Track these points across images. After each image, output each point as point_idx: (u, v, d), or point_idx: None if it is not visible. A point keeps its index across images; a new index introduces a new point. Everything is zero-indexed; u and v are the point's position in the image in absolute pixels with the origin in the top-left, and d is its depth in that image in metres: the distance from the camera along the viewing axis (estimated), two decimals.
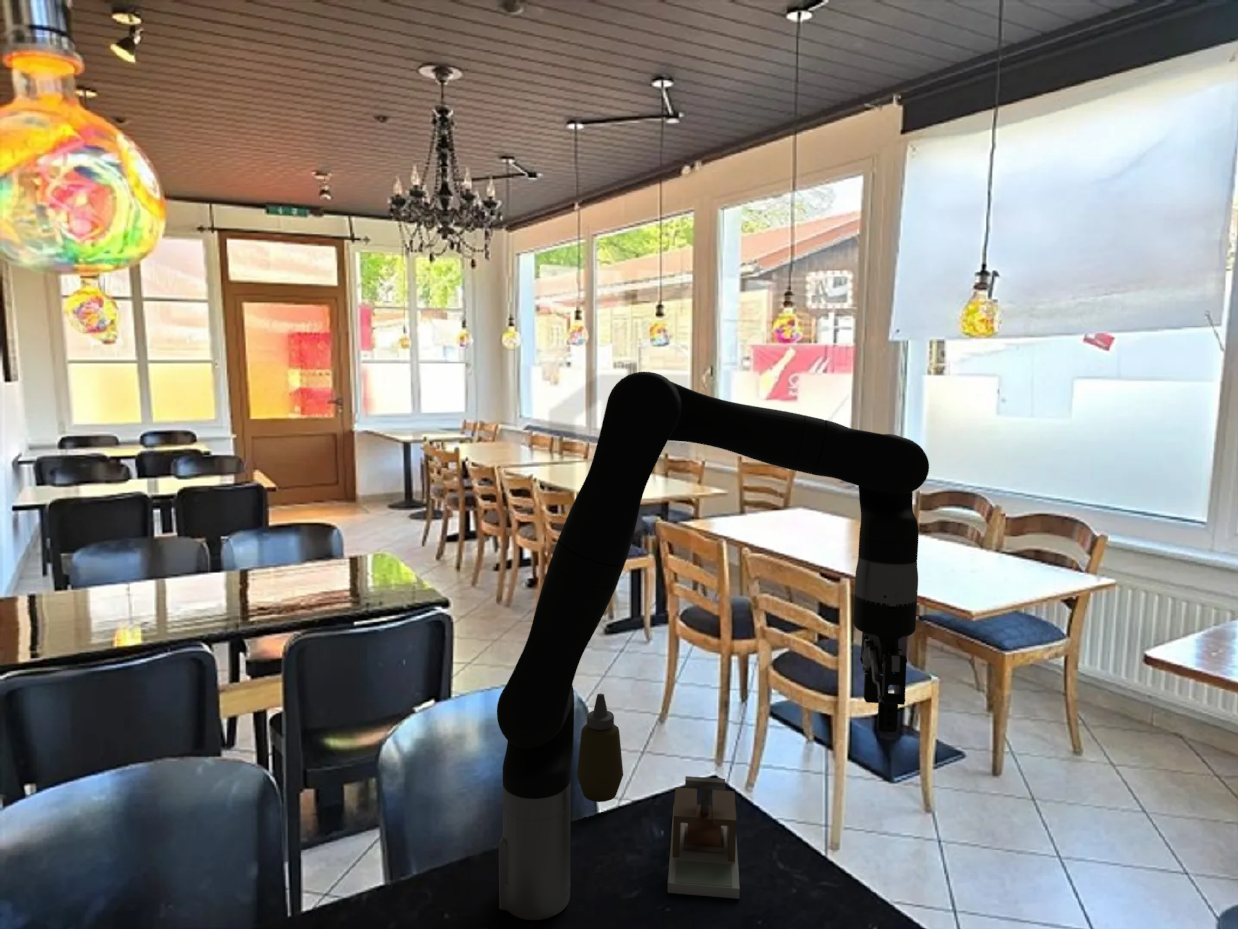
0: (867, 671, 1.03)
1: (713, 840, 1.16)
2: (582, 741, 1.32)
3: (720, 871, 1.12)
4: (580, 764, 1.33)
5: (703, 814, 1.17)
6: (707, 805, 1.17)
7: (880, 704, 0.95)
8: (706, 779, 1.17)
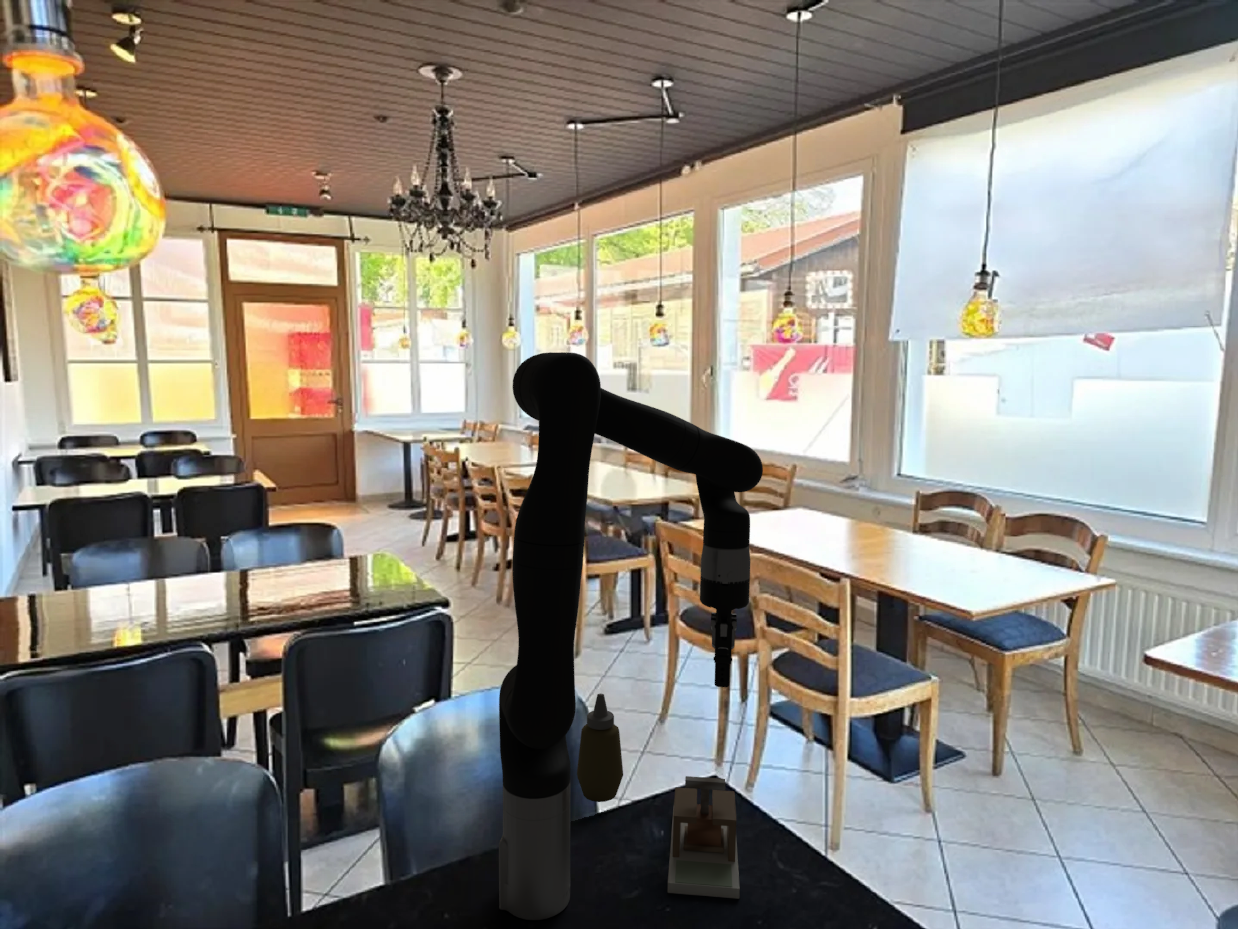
0: None
1: (713, 840, 1.16)
2: (582, 741, 1.32)
3: (720, 871, 1.12)
4: (580, 764, 1.33)
5: (703, 814, 1.17)
6: (707, 805, 1.17)
7: (715, 664, 1.16)
8: (706, 779, 1.17)
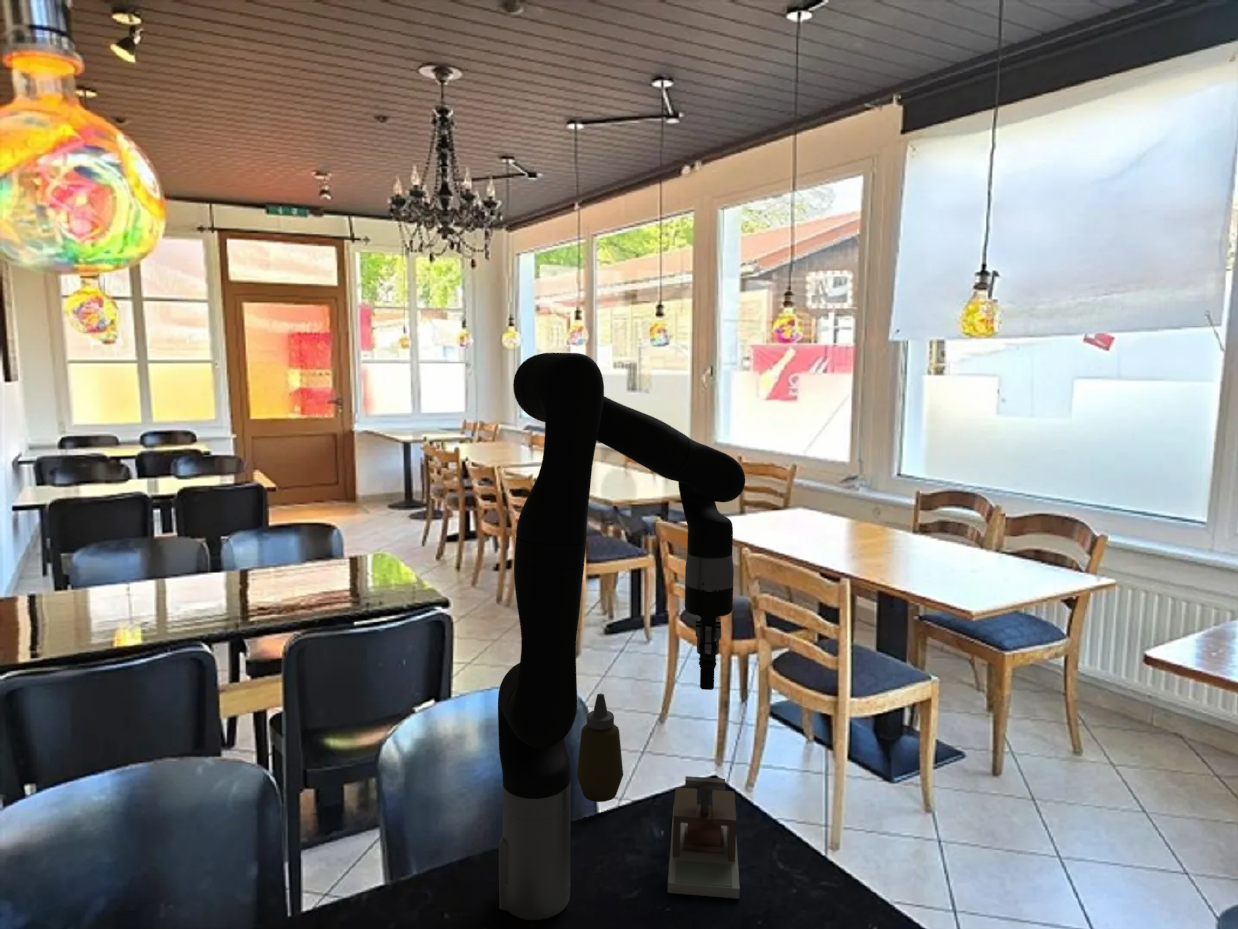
0: None
1: (713, 840, 1.16)
2: (582, 741, 1.32)
3: (720, 871, 1.12)
4: (580, 764, 1.33)
5: (703, 814, 1.17)
6: (707, 805, 1.17)
7: (701, 668, 1.22)
8: (706, 779, 1.17)
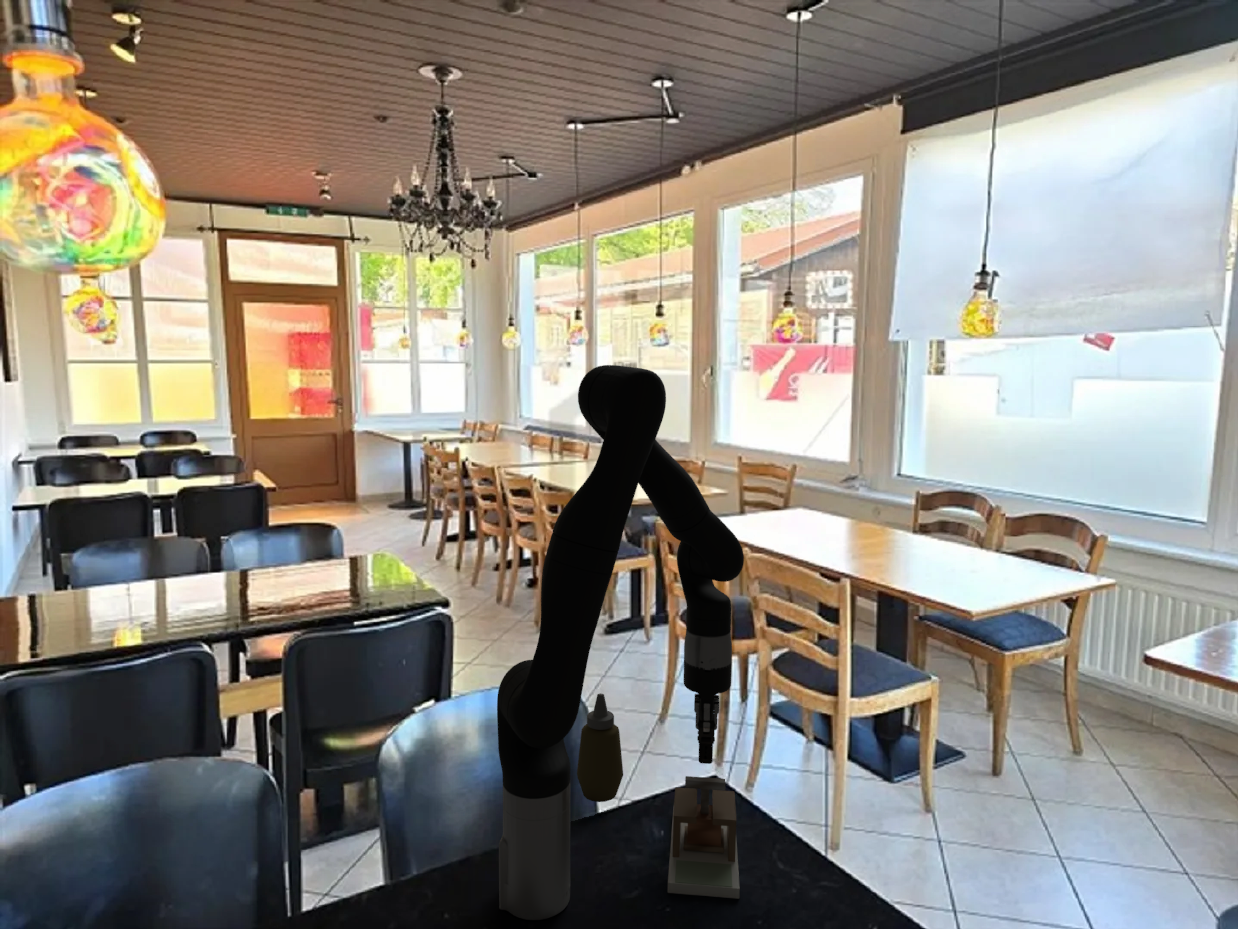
0: None
1: (713, 840, 1.16)
2: (582, 741, 1.32)
3: (720, 871, 1.12)
4: (580, 764, 1.33)
5: (703, 814, 1.17)
6: (707, 805, 1.17)
7: (699, 742, 1.24)
8: (706, 779, 1.17)
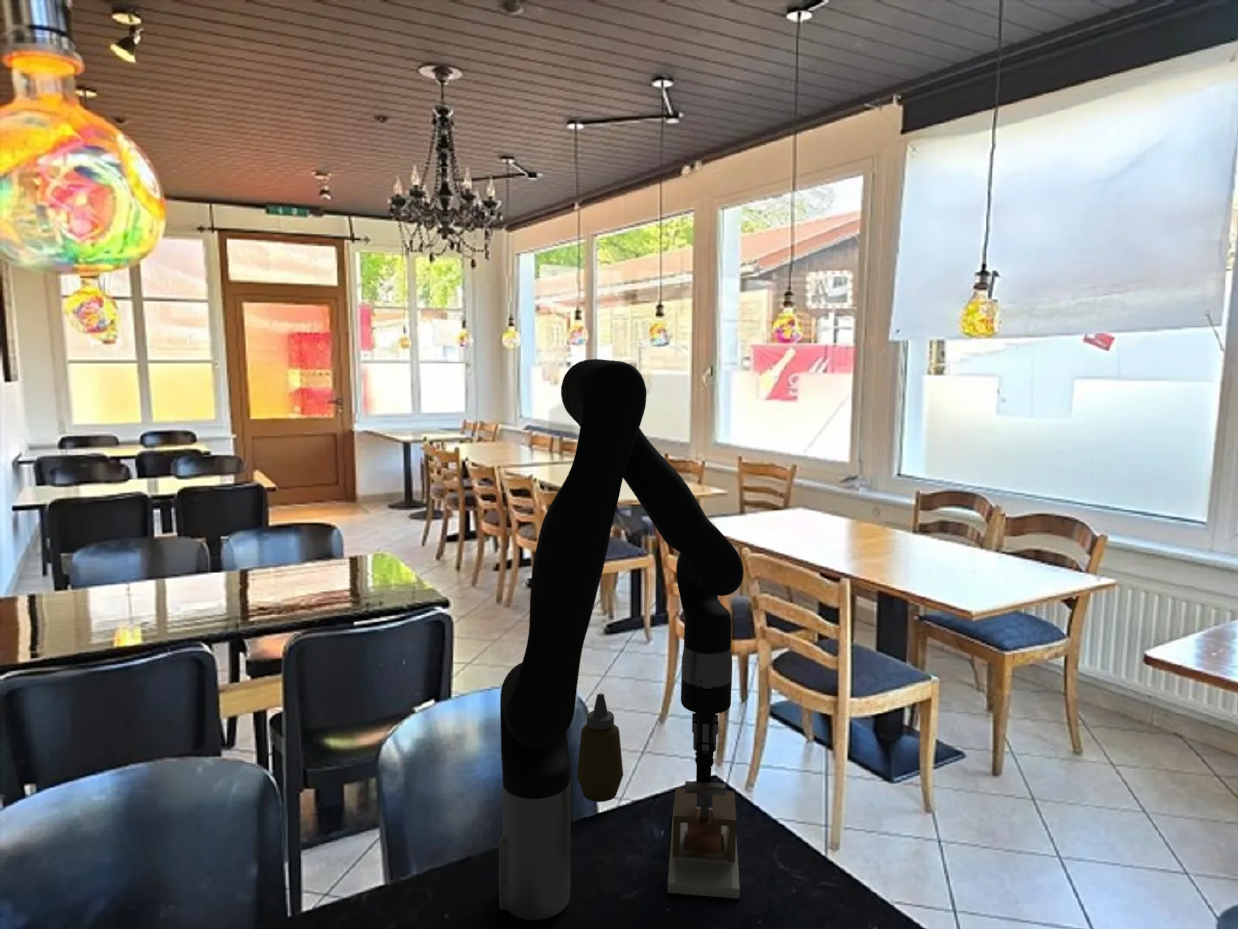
0: None
1: (713, 846, 1.15)
2: (582, 741, 1.32)
3: (720, 871, 1.12)
4: (580, 764, 1.33)
5: (702, 820, 1.16)
6: (707, 810, 1.16)
7: None
8: (706, 784, 1.16)
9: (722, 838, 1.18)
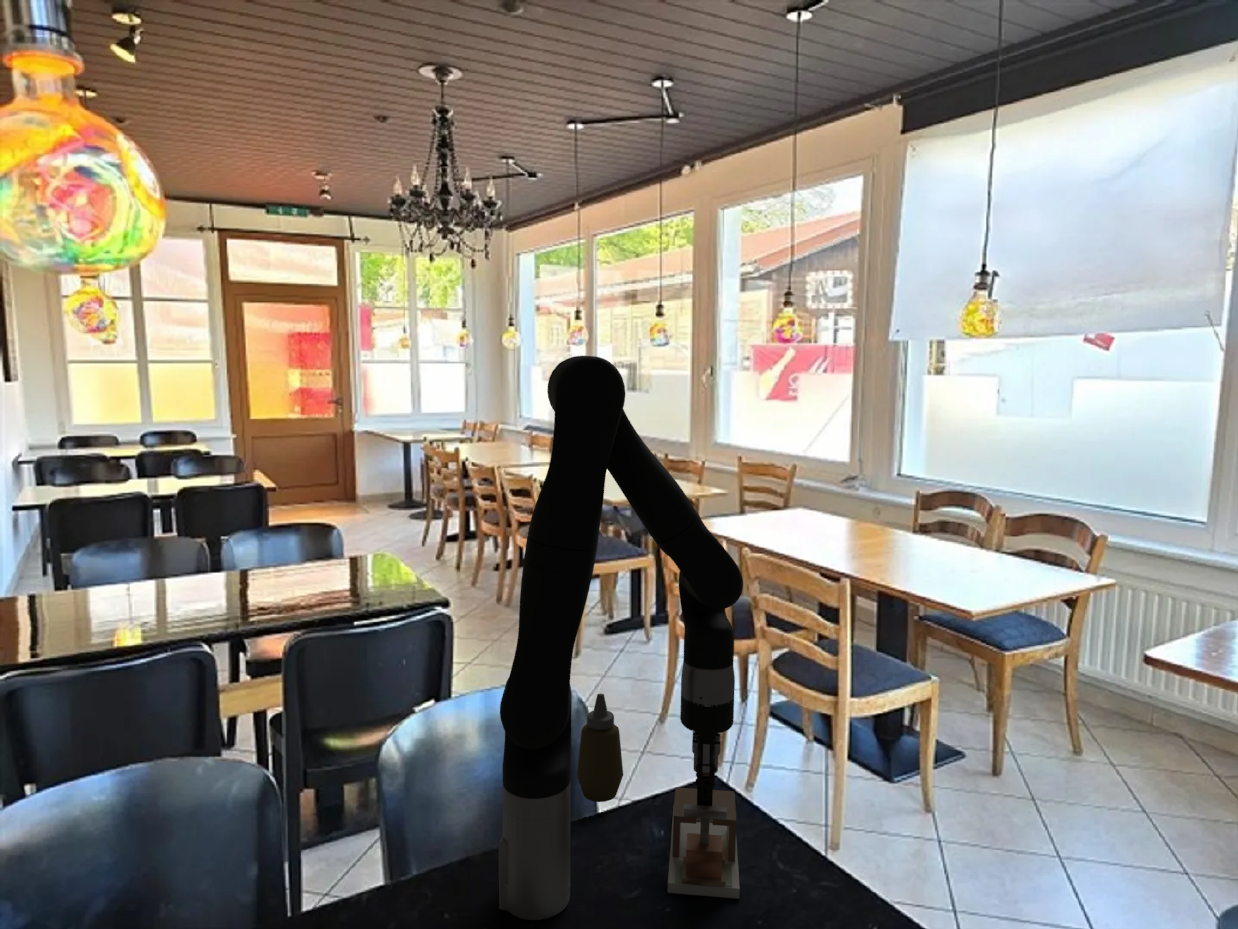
0: None
1: (713, 873, 1.08)
2: (582, 741, 1.32)
3: None
4: (580, 764, 1.33)
5: (702, 845, 1.09)
6: (707, 835, 1.09)
7: None
8: (706, 807, 1.10)
9: (723, 864, 1.12)
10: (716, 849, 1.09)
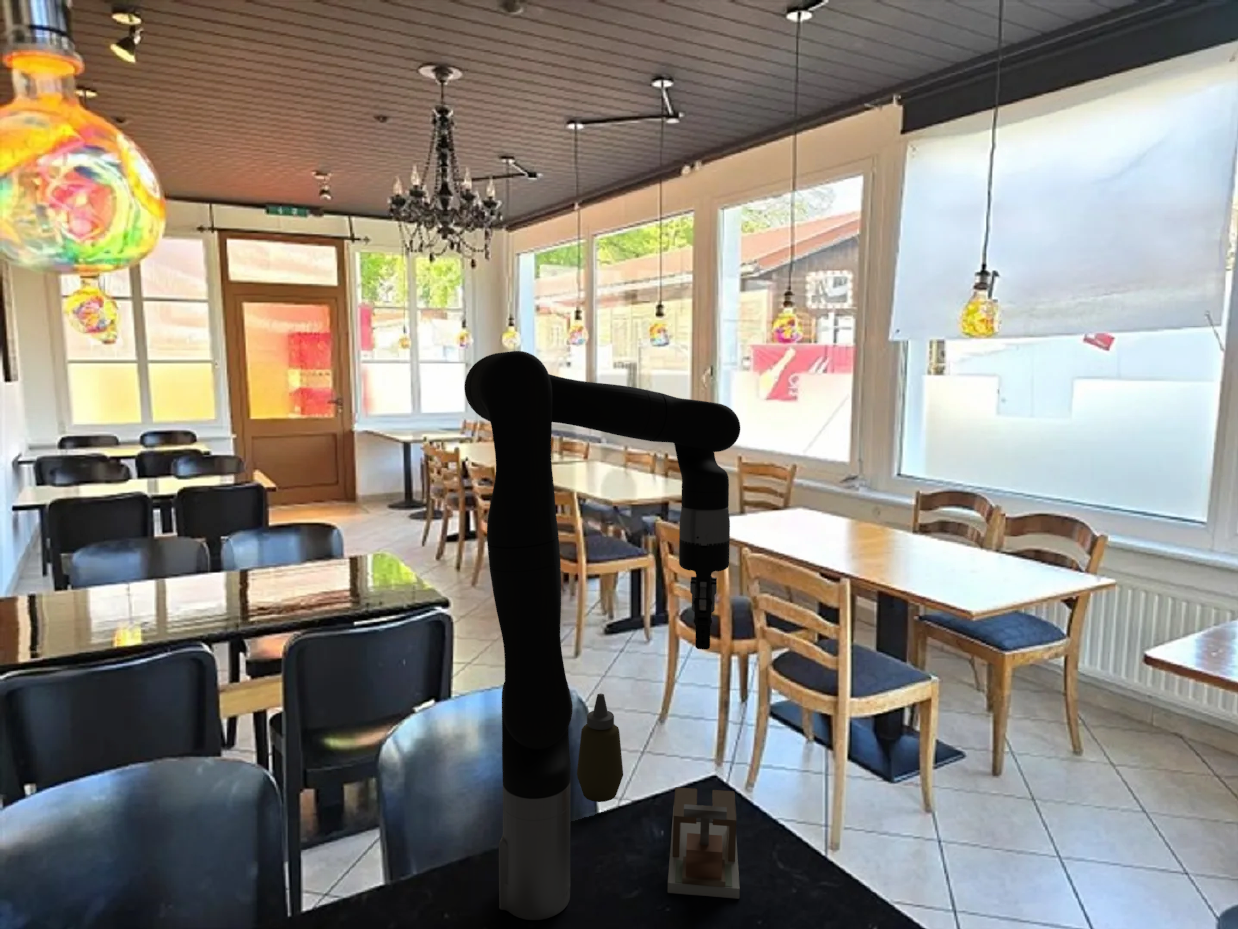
0: None
1: (714, 873, 1.08)
2: (582, 741, 1.32)
3: None
4: (580, 764, 1.33)
5: (702, 845, 1.09)
6: (707, 835, 1.09)
7: (696, 626, 1.17)
8: (706, 807, 1.10)
9: (723, 864, 1.12)
10: (716, 849, 1.09)
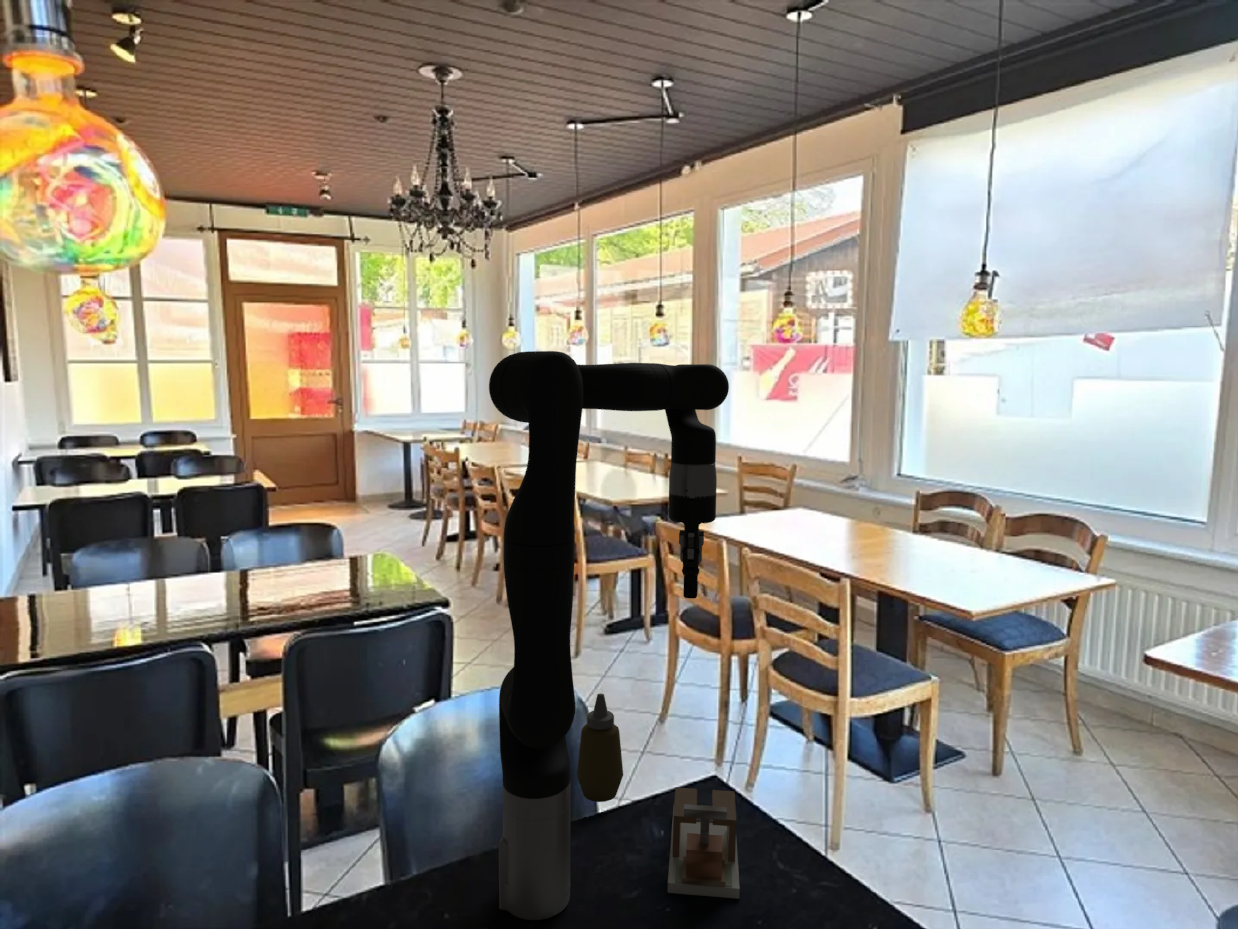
0: None
1: (714, 873, 1.08)
2: (582, 741, 1.32)
3: None
4: (580, 764, 1.33)
5: (702, 845, 1.09)
6: (707, 835, 1.09)
7: (684, 576, 1.24)
8: (706, 807, 1.10)
9: (723, 864, 1.12)
10: (716, 849, 1.09)
